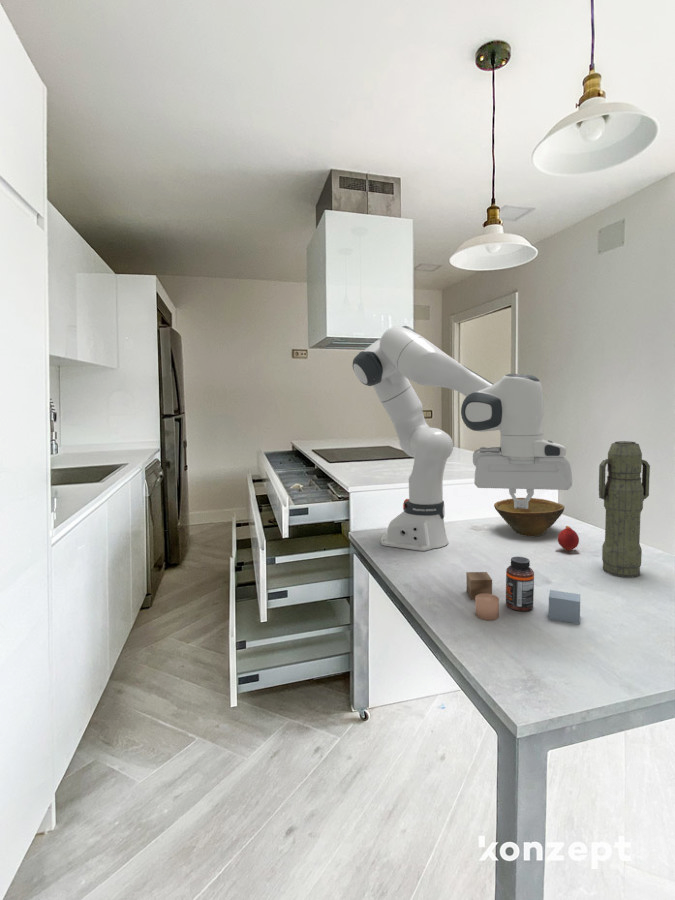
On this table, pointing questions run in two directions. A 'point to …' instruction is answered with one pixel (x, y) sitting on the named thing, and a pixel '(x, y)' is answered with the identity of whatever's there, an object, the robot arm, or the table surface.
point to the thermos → (623, 507)
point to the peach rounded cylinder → (487, 606)
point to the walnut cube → (478, 583)
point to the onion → (568, 539)
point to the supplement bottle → (519, 584)
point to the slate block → (564, 606)
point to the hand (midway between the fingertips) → (521, 507)
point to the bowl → (530, 515)
